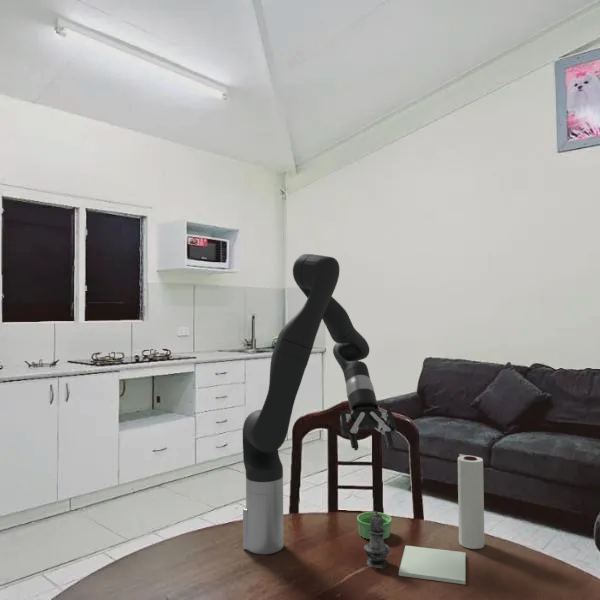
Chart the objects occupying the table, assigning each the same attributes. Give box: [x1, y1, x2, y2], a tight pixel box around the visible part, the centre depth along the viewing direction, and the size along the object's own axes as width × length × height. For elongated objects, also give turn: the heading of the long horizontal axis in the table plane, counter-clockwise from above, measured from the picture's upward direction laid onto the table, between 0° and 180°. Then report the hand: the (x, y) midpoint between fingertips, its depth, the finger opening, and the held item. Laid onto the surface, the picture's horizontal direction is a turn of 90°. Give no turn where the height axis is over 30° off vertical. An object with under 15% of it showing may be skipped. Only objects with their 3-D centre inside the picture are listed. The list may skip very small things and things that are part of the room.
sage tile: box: [398, 545, 466, 585], centre depth 123 cm, size 14×14×1 cm
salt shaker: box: [363, 510, 390, 569], centre depth 124 cm, size 6×6×12 cm
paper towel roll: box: [457, 453, 485, 550], centre depth 134 cm, size 7×6×21 cm
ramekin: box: [356, 511, 392, 540], centre depth 140 cm, size 9×9×4 cm
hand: (373, 448), depth 136 cm, fingers open, 8 cm apart
